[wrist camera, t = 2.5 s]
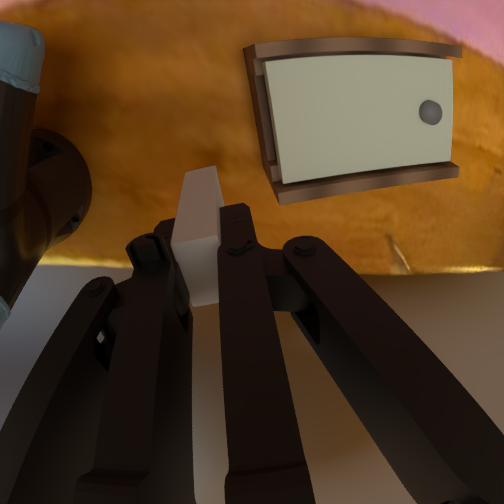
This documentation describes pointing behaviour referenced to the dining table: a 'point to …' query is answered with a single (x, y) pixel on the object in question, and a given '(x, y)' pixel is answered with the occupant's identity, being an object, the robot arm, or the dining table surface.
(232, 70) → the dining table surface
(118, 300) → the robot arm
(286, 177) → the lid
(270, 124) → the box
